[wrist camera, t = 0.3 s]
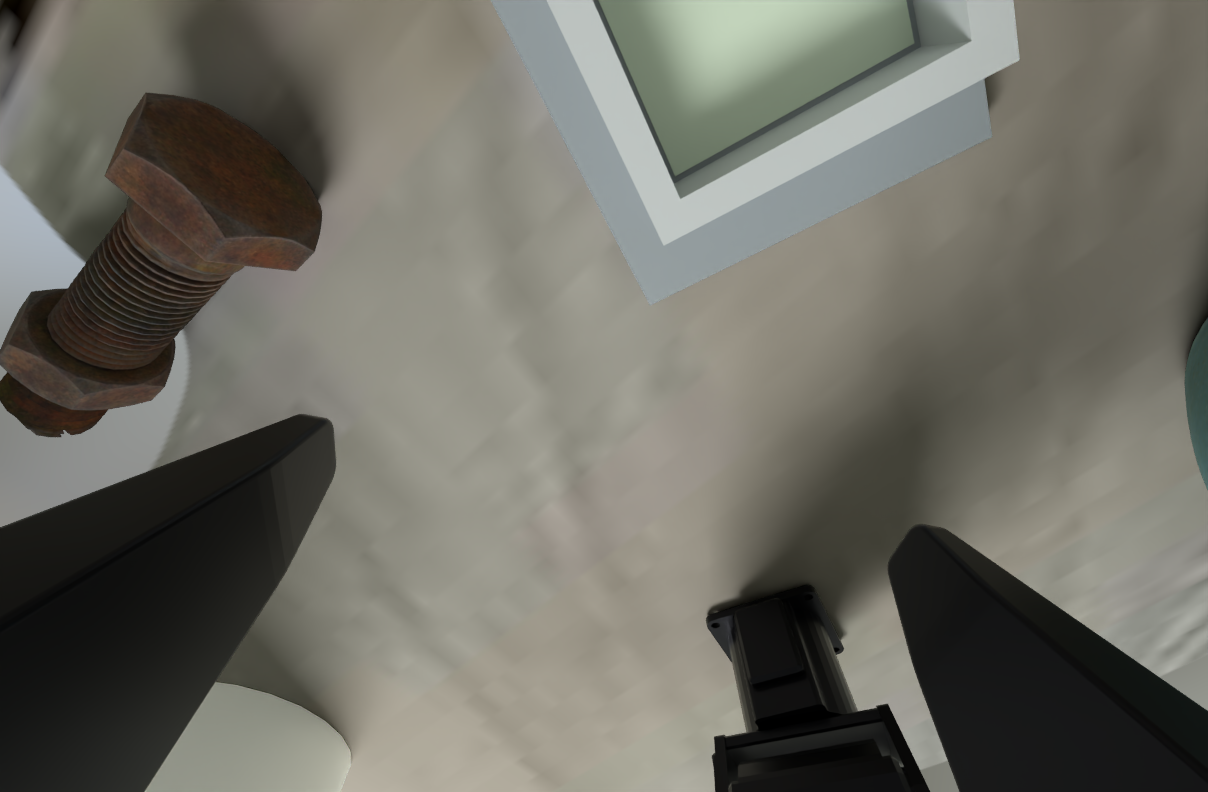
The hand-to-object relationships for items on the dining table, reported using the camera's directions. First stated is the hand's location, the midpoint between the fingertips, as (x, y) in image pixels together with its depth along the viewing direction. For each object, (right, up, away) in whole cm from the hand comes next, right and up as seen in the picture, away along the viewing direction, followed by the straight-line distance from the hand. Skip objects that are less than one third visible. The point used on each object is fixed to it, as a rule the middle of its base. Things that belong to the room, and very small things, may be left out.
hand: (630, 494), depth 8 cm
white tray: (+4, +13, +8) cm, 15 cm away
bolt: (-18, +6, +13) cm, 23 cm away
